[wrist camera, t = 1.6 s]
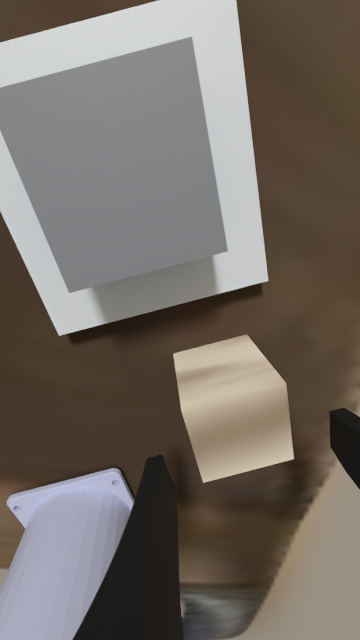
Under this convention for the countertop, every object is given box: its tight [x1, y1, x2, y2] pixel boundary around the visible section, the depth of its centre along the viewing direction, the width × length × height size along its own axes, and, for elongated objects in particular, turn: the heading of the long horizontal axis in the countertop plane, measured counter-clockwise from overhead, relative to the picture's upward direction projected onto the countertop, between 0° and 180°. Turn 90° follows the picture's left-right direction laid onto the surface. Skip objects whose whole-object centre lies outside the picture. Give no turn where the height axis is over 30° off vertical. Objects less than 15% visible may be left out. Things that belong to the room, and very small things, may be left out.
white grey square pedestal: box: [0, 0, 268, 336], centre depth 10 cm, size 11×11×4 cm
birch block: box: [173, 335, 294, 483], centre depth 14 cm, size 4×4×5 cm
